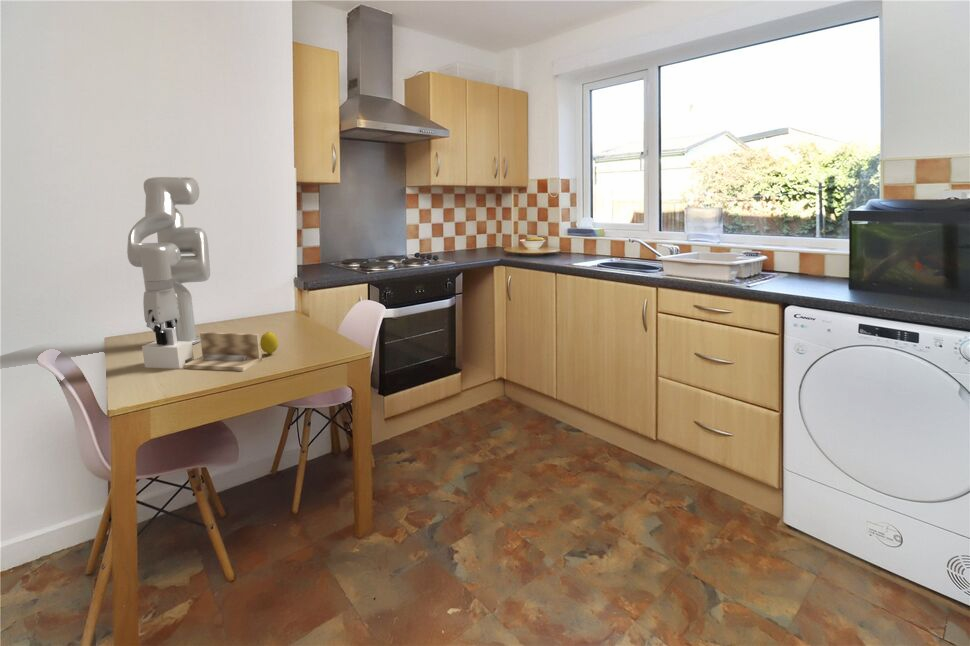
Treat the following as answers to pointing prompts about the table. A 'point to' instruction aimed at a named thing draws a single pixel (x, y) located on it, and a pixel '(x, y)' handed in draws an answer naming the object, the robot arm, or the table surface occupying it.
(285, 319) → the table surface
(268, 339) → the lemon
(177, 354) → the white stepped block
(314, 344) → the table surface
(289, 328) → the table surface
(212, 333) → the cleat board
